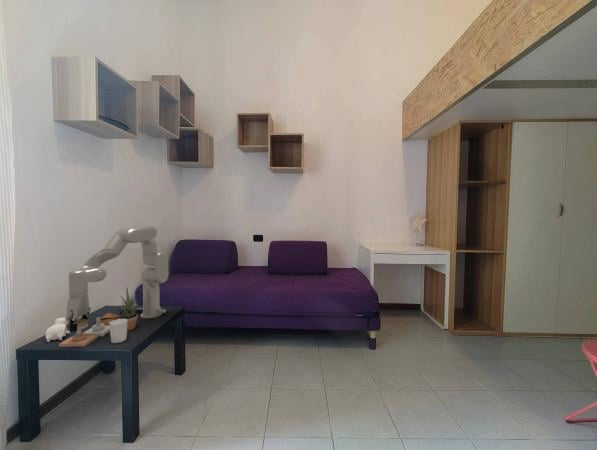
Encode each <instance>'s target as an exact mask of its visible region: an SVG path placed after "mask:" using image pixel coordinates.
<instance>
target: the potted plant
mask: <svg viewBox="0 0 597 450" xmlns="http://www.w3.org/2000/svg"><path fill="white" fill-rule="evenodd" d="M125 294H126V300H125V298H123V296H122V295H119V296H120V298H121V300H122V301H121V302H120V303H119V307H120V308H121V310H120V312H122V315H119V316H120V317H119V318H118V319H127V320H128V321H127V332H128V331H132V330H134V329H135V328H136V324H137V320H138V319H139V314H138V313H137V306H138V305H139V302H138V303H136V302H137V299H136V294H134V296H133V294H132V293H131V294H129V289H128V286H126V287H125ZM135 304H136V305H135ZM134 305H135V306H134Z"/></svg>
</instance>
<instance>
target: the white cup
mask: <svg viewBox="0 0 597 450" xmlns="http://www.w3.org/2000/svg"><path fill="white" fill-rule="evenodd" d="M127 321H128V320H127V319H119V318H117V319H116V320H113V321H111V322H110V332H109V334H110V343H112V344H119V343H122V342H124V341H126V340H127V336H128V335H127V334H128V331H127Z"/></svg>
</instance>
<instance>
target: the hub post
mask: <svg viewBox="0 0 597 450" xmlns="http://www.w3.org/2000/svg"><path fill="white" fill-rule="evenodd" d="M82 330H83V329H79V330H77V331H76V334H73V335H72V336H70V337H69V338H67V339H65V340H62V342H59V343H58V347H59V348H66V347H71V348H72V347H86V346H87V345H89V344H90V343H92V342H93V341H95V340H96V339H98V338H99V336H98V335H86V333H84V332H82Z"/></svg>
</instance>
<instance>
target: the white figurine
mask: <svg viewBox="0 0 597 450" xmlns="http://www.w3.org/2000/svg"><path fill="white" fill-rule="evenodd" d="M67 323H68V322H67V321H66V317H59V318H56V319H55V320H54V324H52V325H51V326H49V327H48V328H47V329H46V331H45V339H46V343H47V342H49V343H50V342H51V341H56V340H59V341H60V340H61V341H63V337H66V336H67V335H69V334H70V333H71V332H70V330H68V327H67Z"/></svg>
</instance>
